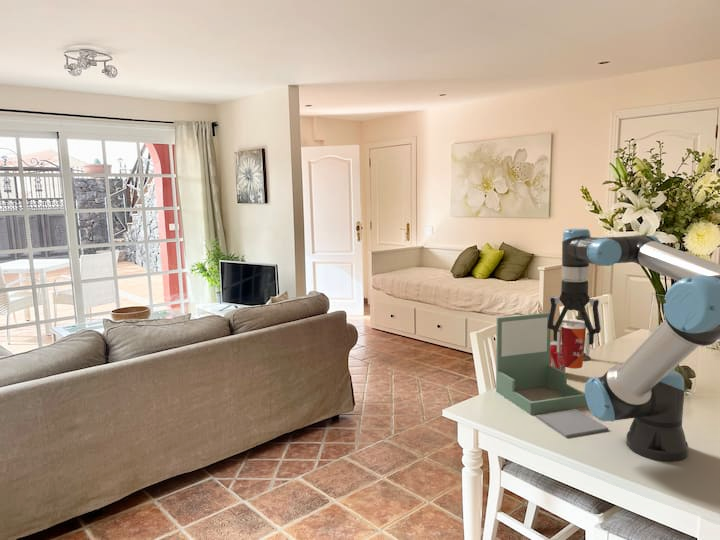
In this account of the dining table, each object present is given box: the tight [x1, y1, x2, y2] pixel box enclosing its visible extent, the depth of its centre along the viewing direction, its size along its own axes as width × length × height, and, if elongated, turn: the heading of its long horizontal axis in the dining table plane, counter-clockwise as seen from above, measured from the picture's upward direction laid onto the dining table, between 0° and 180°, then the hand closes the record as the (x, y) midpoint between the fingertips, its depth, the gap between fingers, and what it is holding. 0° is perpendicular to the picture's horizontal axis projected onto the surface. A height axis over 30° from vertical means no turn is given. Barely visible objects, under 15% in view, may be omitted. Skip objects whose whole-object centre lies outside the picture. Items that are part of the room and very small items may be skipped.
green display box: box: [495, 312, 588, 416], centre depth 182 cm, size 22×22×28 cm
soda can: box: [550, 340, 566, 373], centre depth 207 cm, size 7×7×13 cm
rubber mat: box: [535, 408, 609, 438], centre depth 163 cm, size 15×15×1 cm
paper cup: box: [560, 318, 587, 369], centre depth 159 cm, size 8×8×14 cm
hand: (572, 352), depth 159 cm, fingers closed on paper cup, 8 cm apart
